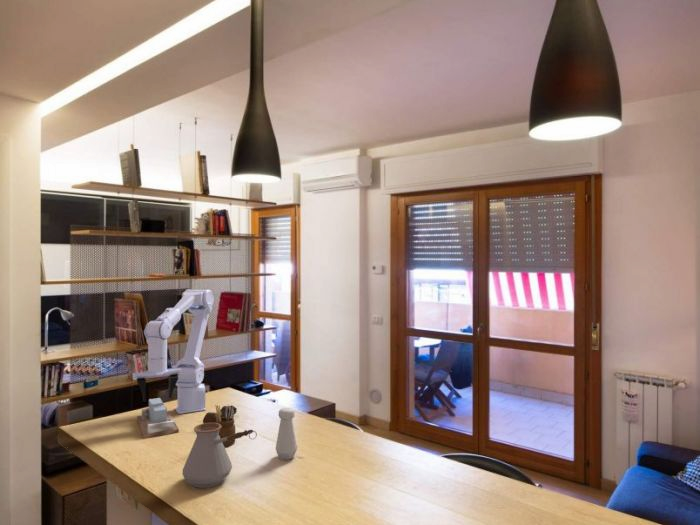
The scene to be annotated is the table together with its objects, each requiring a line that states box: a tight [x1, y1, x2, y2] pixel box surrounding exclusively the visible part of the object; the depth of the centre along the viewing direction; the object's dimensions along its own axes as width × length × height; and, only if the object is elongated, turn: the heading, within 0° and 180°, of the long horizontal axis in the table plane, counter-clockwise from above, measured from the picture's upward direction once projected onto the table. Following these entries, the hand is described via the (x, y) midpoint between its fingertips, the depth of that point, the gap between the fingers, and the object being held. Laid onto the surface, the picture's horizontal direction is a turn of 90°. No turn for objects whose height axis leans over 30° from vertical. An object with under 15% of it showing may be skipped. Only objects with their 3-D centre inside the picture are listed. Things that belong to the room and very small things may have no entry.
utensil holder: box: [214, 403, 236, 447], centre depth 134 cm, size 6×6×12 cm
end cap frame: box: [136, 405, 180, 439], centre depth 149 cm, size 10×20×4 cm, turn 30°
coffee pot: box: [182, 423, 258, 489], centre depth 108 cm, size 21×12×15 cm, turn 57°
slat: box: [148, 397, 168, 424], centre depth 149 cm, size 4×15×6 cm, turn 30°
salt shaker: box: [275, 407, 298, 461], centre depth 125 cm, size 6×6×13 cm
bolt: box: [202, 404, 238, 424], centre depth 154 cm, size 6×5×15 cm
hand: (157, 399), depth 150 cm, fingers open, 7 cm apart
